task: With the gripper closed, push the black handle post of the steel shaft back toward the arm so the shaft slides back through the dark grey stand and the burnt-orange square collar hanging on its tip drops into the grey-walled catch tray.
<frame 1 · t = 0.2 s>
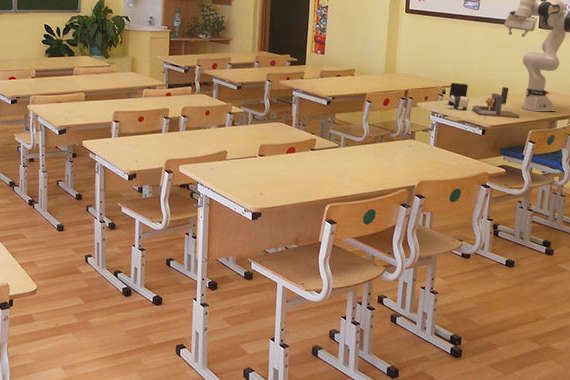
hand: (516, 35, 535), 52 cm above the table, tool tilted 20°, fingers open, 8 cm apart
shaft: (496, 95, 540), point 12 cm above the table, slide at 0.0 cm, touching collar
giant panda: (457, 109, 549), on the table
collar: (489, 106, 542), point 5 cm above the table, touching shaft
dark grey stand: (494, 113, 544), on the table
calculator: (456, 105, 563), on the table
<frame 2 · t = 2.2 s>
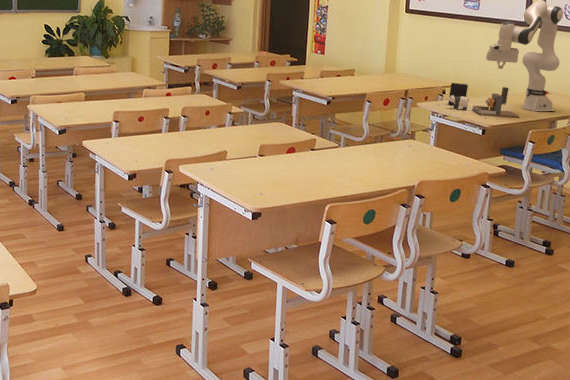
hand: (500, 68, 535), 30 cm above the table, tool pointing down, fingers closed
nothing on the table moved.
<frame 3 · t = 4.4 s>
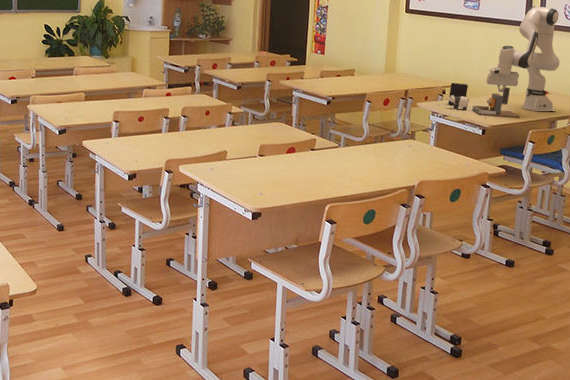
hand: (500, 91, 540), 15 cm above the table, tool pointing down, fingers closed
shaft: (498, 95, 540), point 12 cm above the table, slide at 1.0 cm, touching collar, gripper
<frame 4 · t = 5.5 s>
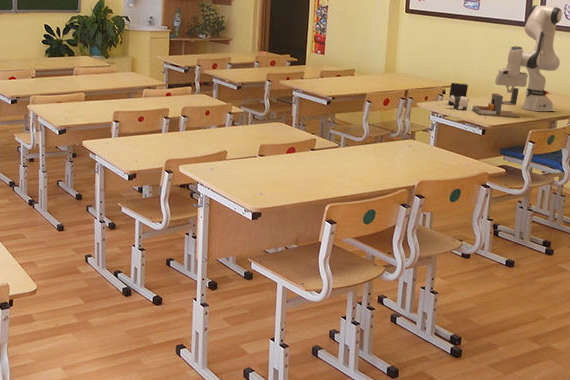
hand: (509, 92, 540), 15 cm above the table, tool pointing down, fingers closed
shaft: (506, 96, 541), point 12 cm above the table, slide at 6.9 cm, touching gripper
collar: (490, 111, 543), point 1 cm above the table, touching dark grey stand
everything else where it was.
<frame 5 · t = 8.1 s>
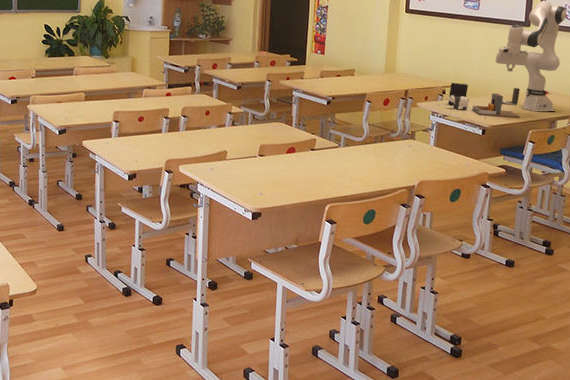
hand: (509, 71, 536), 29 cm above the table, tool pointing down, fingers closed
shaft: (508, 96, 541), point 12 cm above the table, slide at 7.7 cm
everything else where it was.
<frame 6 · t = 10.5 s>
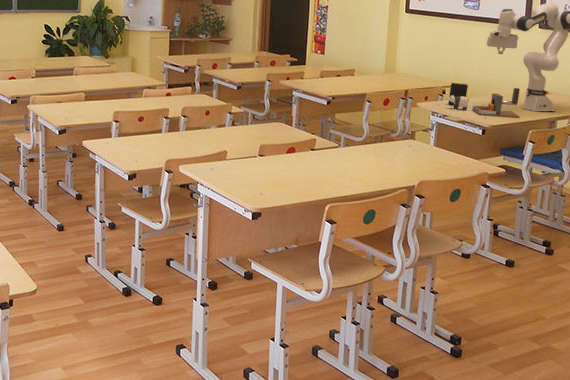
hand: (500, 54, 554), 37 cm above the table, tool pointing down, fingers closed
nothing on the table moved.
at the end: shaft slide at 7.7 cm; collar inside the target area (3.3 cm from its centre), point 1.2 cm above the table; collar touching dark grey stand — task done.
